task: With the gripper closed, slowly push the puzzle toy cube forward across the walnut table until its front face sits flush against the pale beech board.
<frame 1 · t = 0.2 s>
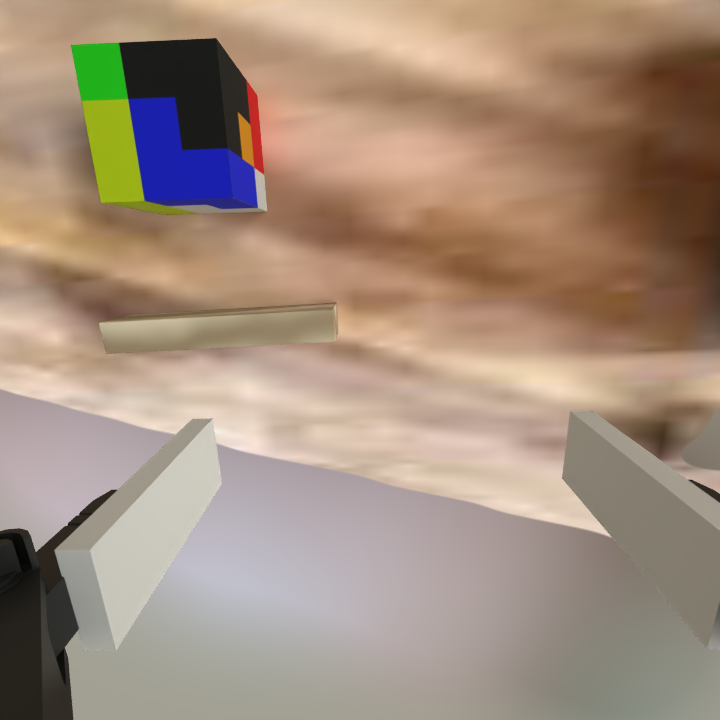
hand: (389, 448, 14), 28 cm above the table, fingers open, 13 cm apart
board: (234, 323, 41), on the table
puzzle toy: (211, 158, 38), on the table
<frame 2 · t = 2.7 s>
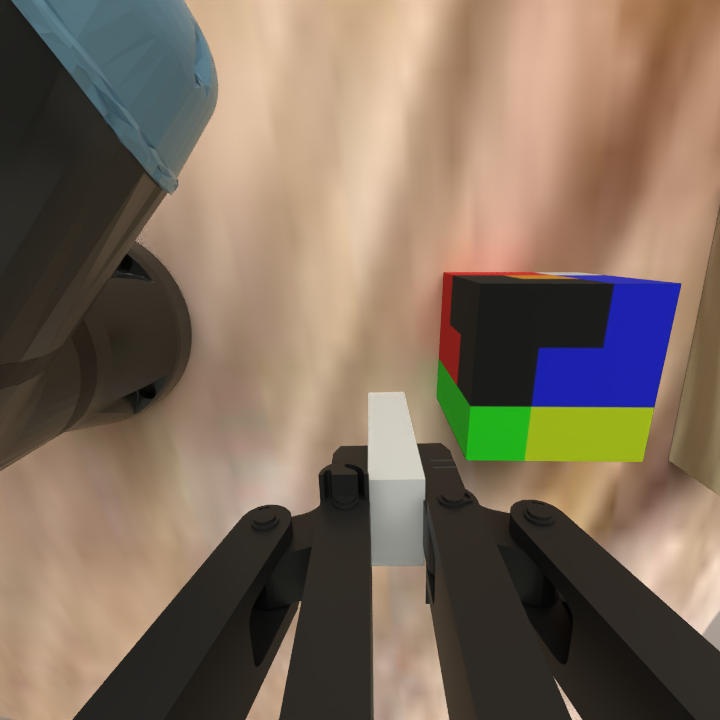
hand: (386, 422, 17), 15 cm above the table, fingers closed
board: (714, 332, 30), on the table
puzzle toy: (503, 337, 31), on the table
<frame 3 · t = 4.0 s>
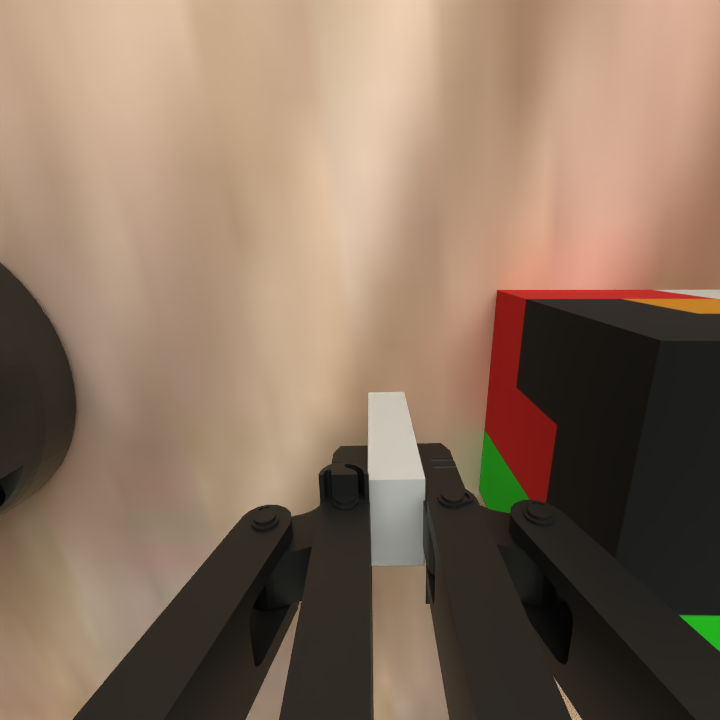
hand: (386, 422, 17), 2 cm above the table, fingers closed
puzzle toy: (591, 395, 19), on the table
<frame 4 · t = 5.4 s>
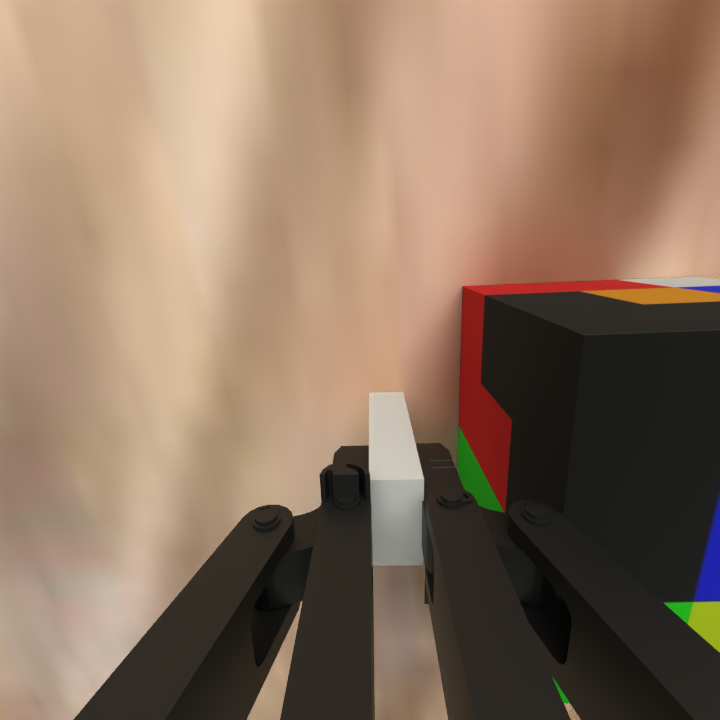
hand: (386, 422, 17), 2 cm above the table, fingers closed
puzzle toy: (563, 387, 19), on the table, touching gripper, hand
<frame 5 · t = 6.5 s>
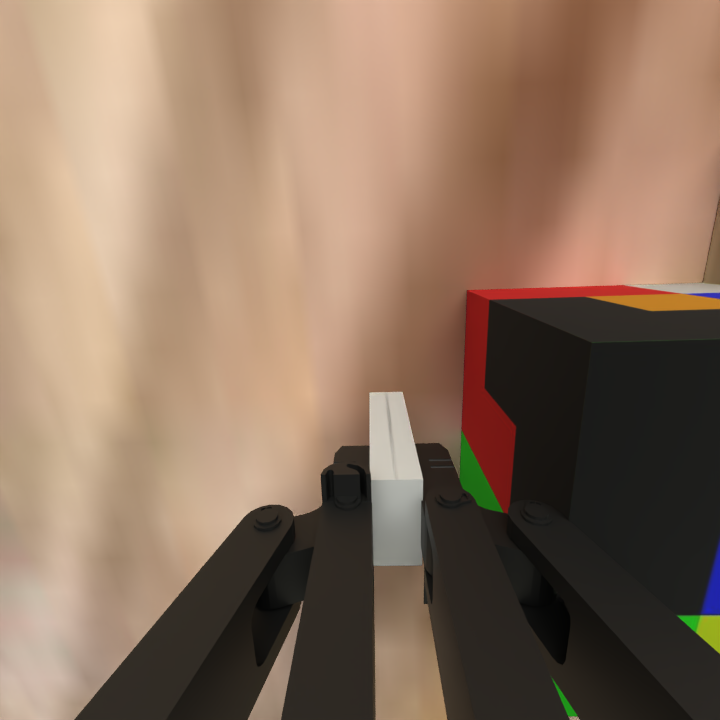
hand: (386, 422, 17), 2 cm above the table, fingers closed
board: (713, 394, 18), on the table
puzzle toy: (568, 393, 18), on the table, touching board, hand
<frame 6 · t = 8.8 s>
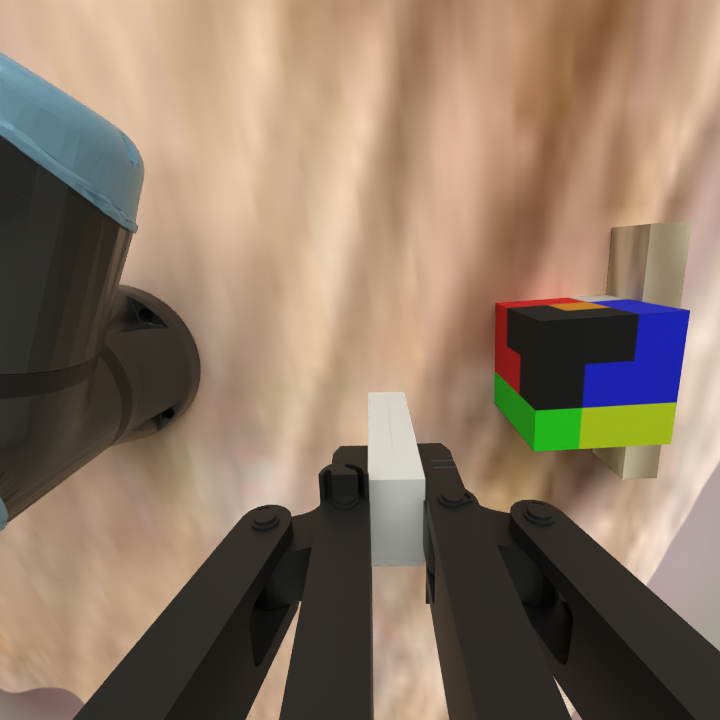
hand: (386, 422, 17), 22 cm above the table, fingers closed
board: (617, 347, 37), on the table
puzzle toy: (546, 350, 38), on the table
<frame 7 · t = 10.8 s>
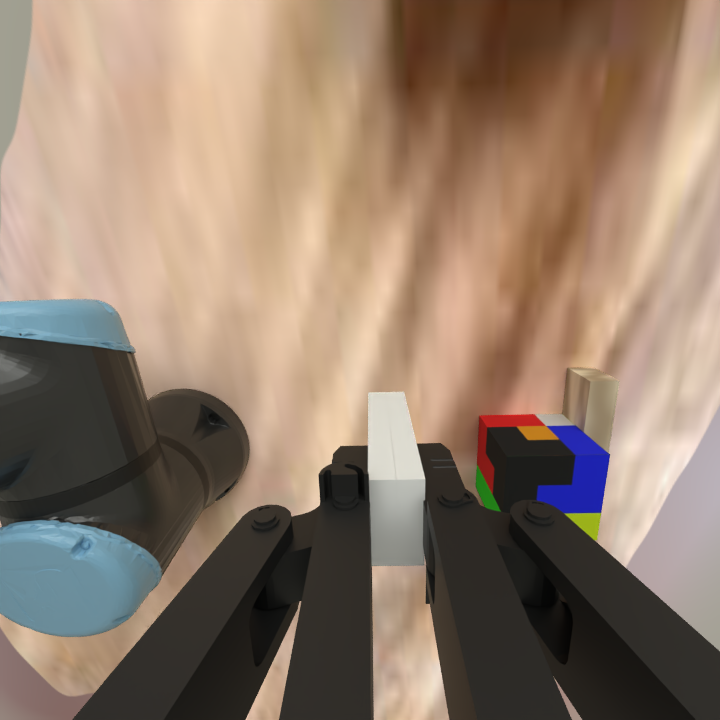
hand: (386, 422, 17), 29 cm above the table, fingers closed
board: (570, 451, 49), on the table
puzzle toy: (516, 450, 50), on the table
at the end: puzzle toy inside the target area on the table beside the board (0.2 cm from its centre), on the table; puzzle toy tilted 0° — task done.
